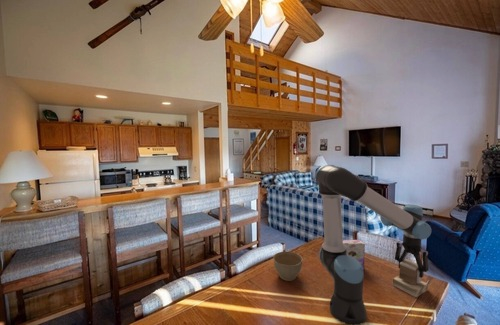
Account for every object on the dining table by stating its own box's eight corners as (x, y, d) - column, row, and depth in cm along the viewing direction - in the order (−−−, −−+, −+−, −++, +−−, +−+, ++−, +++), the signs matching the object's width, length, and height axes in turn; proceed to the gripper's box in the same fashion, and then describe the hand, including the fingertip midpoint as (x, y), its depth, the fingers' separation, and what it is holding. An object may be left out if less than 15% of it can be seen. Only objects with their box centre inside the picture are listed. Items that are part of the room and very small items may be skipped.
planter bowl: (308, 279, 124) (308, 261, 123) (284, 288, 117) (283, 268, 116) (291, 265, 139) (291, 248, 138) (268, 272, 132) (268, 254, 131)
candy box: (360, 265, 138) (361, 239, 137) (364, 270, 132) (365, 243, 131) (337, 264, 139) (337, 238, 138) (340, 269, 134) (340, 243, 132)
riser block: (416, 298, 109) (416, 290, 109) (392, 285, 119) (392, 278, 118) (427, 290, 114) (427, 283, 114) (404, 279, 124) (404, 272, 123)
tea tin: (414, 285, 111) (415, 269, 110) (398, 277, 117) (399, 262, 116) (421, 280, 115) (422, 265, 114) (406, 273, 121) (406, 259, 120)
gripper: (439, 240, 107) (436, 286, 109) (395, 227, 124) (393, 267, 126) (432, 244, 103) (429, 291, 105) (387, 230, 121) (386, 271, 123)
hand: (410, 278), depth 116 cm, fingers closed on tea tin, 7 cm apart
